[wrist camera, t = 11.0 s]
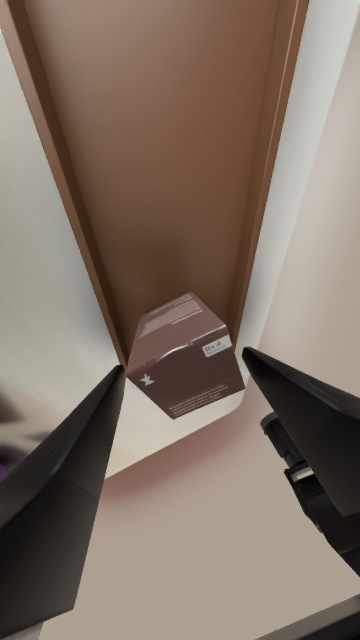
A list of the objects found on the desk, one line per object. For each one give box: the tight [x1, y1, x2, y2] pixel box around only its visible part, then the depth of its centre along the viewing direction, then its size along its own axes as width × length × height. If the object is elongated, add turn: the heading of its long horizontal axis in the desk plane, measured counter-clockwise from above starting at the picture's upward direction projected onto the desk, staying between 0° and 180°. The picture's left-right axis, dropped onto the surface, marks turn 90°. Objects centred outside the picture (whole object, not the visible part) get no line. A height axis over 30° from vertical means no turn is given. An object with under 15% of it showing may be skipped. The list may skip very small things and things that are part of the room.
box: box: [125, 291, 245, 419], centre depth 11 cm, size 6×6×7 cm
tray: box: [0, 0, 309, 372], centre depth 10 cm, size 13×27×2 cm, turn 2°
